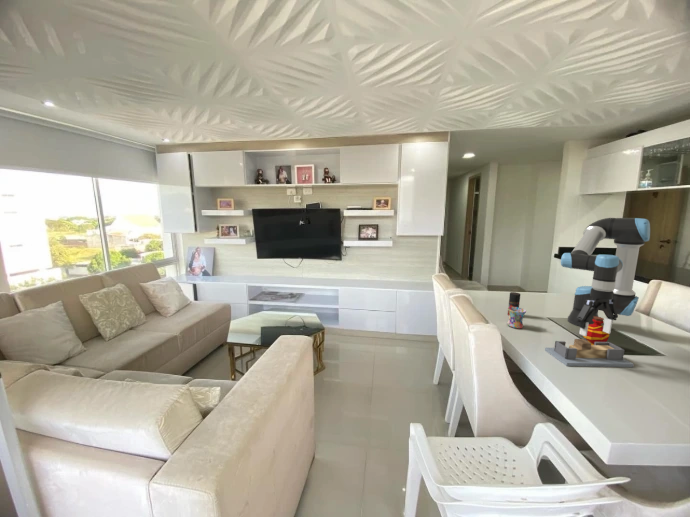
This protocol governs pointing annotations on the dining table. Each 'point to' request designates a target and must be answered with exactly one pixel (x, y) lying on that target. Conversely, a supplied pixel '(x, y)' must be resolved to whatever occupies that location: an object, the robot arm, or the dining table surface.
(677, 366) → the dining table surface
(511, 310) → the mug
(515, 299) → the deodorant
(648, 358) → the dining table surface
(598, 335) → the potion bottle
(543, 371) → the dining table surface
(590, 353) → the tan stepped wooden block
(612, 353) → the grey slat holder base
